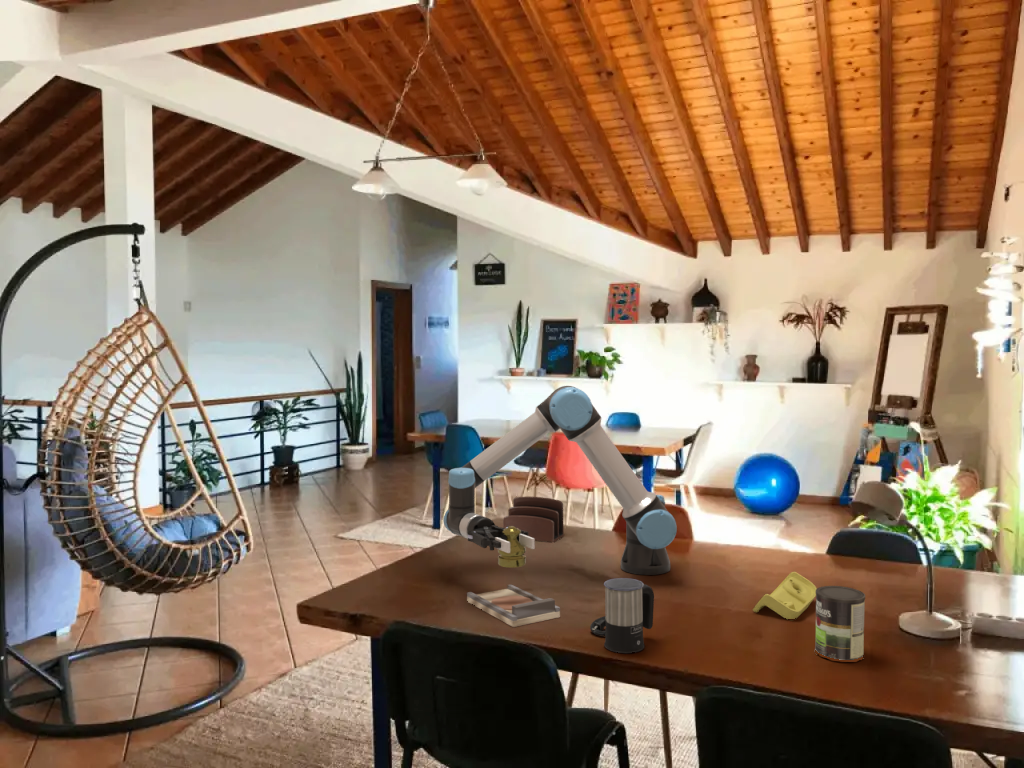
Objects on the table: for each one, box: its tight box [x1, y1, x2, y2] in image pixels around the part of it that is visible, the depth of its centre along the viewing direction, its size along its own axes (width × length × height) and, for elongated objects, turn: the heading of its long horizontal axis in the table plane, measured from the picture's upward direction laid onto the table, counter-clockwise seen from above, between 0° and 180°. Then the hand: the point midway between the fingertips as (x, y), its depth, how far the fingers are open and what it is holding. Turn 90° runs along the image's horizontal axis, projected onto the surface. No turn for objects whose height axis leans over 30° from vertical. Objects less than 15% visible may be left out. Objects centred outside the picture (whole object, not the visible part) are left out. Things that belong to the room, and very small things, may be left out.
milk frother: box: [590, 577, 655, 654], centre depth 193 cm, size 14×16×15 cm
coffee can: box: [814, 585, 866, 660], centre depth 184 cm, size 10×10×14 cm
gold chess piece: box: [497, 526, 527, 569], centre depth 217 cm, size 7×7×10 cm
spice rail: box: [466, 584, 561, 628], centre depth 217 cm, size 24×14×4 cm, turn 31°
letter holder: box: [502, 496, 565, 543], centre depth 297 cm, size 10×20×14 cm, turn 65°
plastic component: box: [752, 571, 818, 620], centre depth 217 cm, size 20×7×10 cm
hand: (521, 545), depth 212 cm, fingers closed on gold chess piece, 7 cm apart
